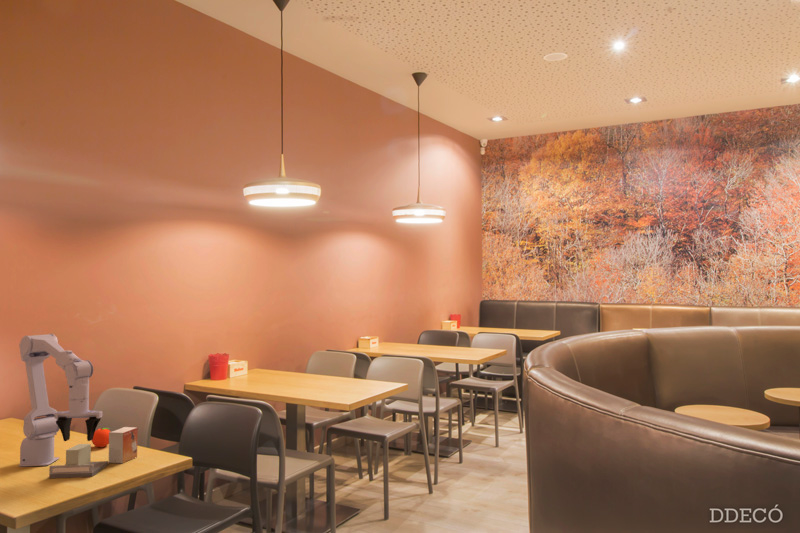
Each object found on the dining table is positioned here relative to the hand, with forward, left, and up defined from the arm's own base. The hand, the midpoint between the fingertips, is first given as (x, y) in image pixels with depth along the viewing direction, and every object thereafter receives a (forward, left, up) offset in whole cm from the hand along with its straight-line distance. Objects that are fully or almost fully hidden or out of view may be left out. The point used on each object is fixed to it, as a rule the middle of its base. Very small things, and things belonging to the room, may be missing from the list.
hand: (78, 440), depth 182 cm
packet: (0, 0, -9) cm, 9 cm away
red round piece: (-5, +30, -11) cm, 32 cm away
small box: (+10, +12, -11) cm, 19 cm away
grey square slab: (0, +1, -10) cm, 10 cm away
